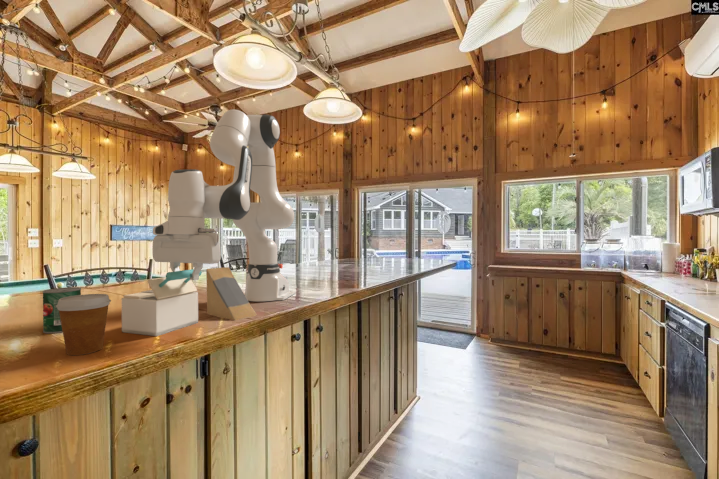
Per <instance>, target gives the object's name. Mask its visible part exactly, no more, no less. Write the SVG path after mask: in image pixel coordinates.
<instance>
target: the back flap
mask: <svg viewBox="0 0 719 479" xmlns="http://www.w3.org/2000/svg"><path fill="white" fill-rule="evenodd" d="M152 296H155V295H154V293H153V291H152V289H149V290H143V291H140V292H135V293H129V294H125V295H123V297H122V298H134V299H141V298H146V297H152Z"/></svg>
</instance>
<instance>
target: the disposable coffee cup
mask: <svg viewBox="0 0 719 479" xmlns="http://www.w3.org/2000/svg"><path fill="white" fill-rule="evenodd" d="M111 301H112V300H111V299H110V296H109V294H106V293H88V294H87V293H86V294H81V295H76V296H69V297H64V298H61V299H59V301H58V304H57V305H56V307H57V309H58V310H59V314H60V320H61V325H62V331H63V332H62V337H63V341H64V346H65V354H66V355H68V356H82V355H88V354H92V353H95V352H98V351H100V350H102V349H103V346H104V339H105V333H106V332H105V331H106V325H107V318H108V310H109V305H111V304H110V303H111Z"/></svg>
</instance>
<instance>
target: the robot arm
mask: <svg viewBox="0 0 719 479" xmlns="http://www.w3.org/2000/svg"><path fill="white" fill-rule="evenodd" d="M280 134H281V128H280V125H279V122H278V120H277V118H276V117H275V116H273V115H270V114H246V113H245V112H244V111H241V110H240V109H235V108H234V109H228V110H227V111H225V112H224V113H223V114H222V116H221V117H220V119H219V120H218V121H217V123H216V125H215V127H214V130H213V132H212V134H211V136H210V141H209V148H210V150H211V152H212V154H213V155H214V157H216V159H218V160H219V161H221V163H224V164H225V165H229V166H232V167H234V169H233V170H234V171H233V178H232V179H233V180H232V182H230V183H228V184H226V185H209V183H207V182H206V181H205V180H204V176H203V171H202V170H199V169H191V168H190V169H175V170H173V171H172V172H171V173H170V176H169V181H168V186H167V187H168V189H167V190H168V191H167V202H168V204H169V211H168V214H167V221H164V222H162V223H160V224H158V225H155V226H154V227H153V228H152V233H153V235H155V236H154V237H153V239H152V258H153V260H154V262H155V263H159V262H160V263H169V268H170V269H171V272H175V271H181V269H180V266H181V264H192V267H193V269H194V270H193V273H192V274H190V280H192V281H198V280H199V279H200V276H199V273H200V271H201V272H202V270H203V268H204V264H205V265H206V264H207V265H208V264H209V265H213V264H219V262H220V261H221V260H222V259H221V258H222V256H221V255H222V253H221V246H220V245H221V244H220V240H219V237H220V235H219V233H218V231H217V230H215V228H206V227H205V224H206V223H205V221H206V219H214V220H215V219H217V220H218V219H225V220H232V221H233V223H234V225H235V226H236V228H238V229H239V230H240V231H241V232H242V233H243V235H244V236H245V239H246V242H247V247H248V264H247V273H248V276H247V277H246V280H245V290H244V291H245V292H244V295H245V297H246V298H247V300H248V302H272V301H273V302H274V301H285V300H286V299H288V298H290V297H292V296H293V295H295V294H296V293H295V291H293V290H290V284H289V280H288V279H287V278H286V277H284V275H283V274H281V269H283V263H278V245H277V243H276V242H275V241H274V240H273V239H271V238H269V237H268V236H267V234H266V230H282V229H287V228H290V227H291V225H293V222H294V220H295V210H294V208H293V206H291V205H290V204H289V203H288V202H287V201H286V200H284V198H283V197H282V195H281V193H280V192H279V188H278V183H277V167H276V163H277V162H276V156H275V150H274V147H275V145H276V144H277V143H278V141H279V139H280ZM251 191H252V192H254V193H255V194H257V195H258V197H259V199H260V202H259V201H258V202H251Z"/></svg>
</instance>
